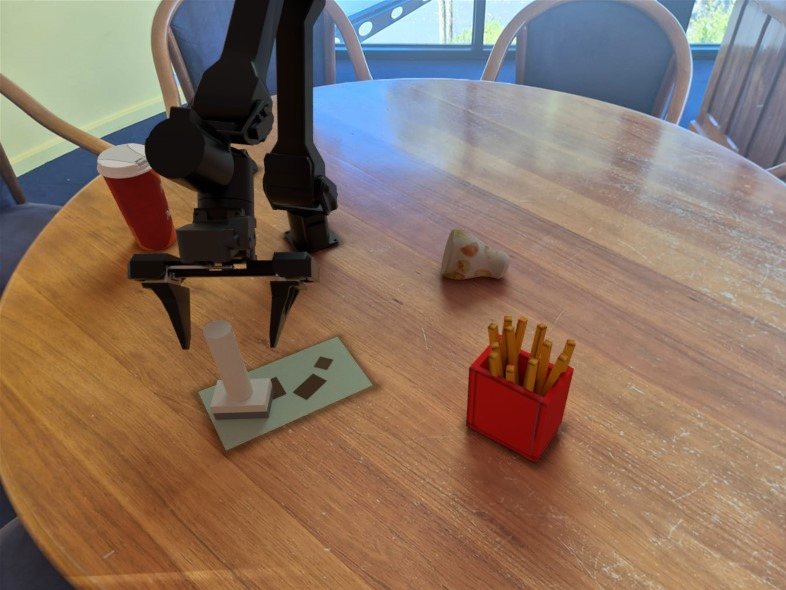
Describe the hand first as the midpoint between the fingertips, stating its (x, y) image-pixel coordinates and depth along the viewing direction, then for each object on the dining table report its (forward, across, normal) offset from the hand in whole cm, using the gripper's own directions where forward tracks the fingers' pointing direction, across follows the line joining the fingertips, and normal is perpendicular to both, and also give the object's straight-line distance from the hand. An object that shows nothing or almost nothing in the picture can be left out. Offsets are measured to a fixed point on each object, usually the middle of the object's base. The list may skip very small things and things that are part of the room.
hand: (229, 348), depth 67 cm
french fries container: (+10, +31, +3) cm, 33 cm away
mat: (+5, +4, +7) cm, 10 cm away
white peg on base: (+7, 0, +5) cm, 8 cm away
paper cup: (-17, -20, +29) cm, 39 cm away
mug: (-10, +29, +23) cm, 38 cm away
